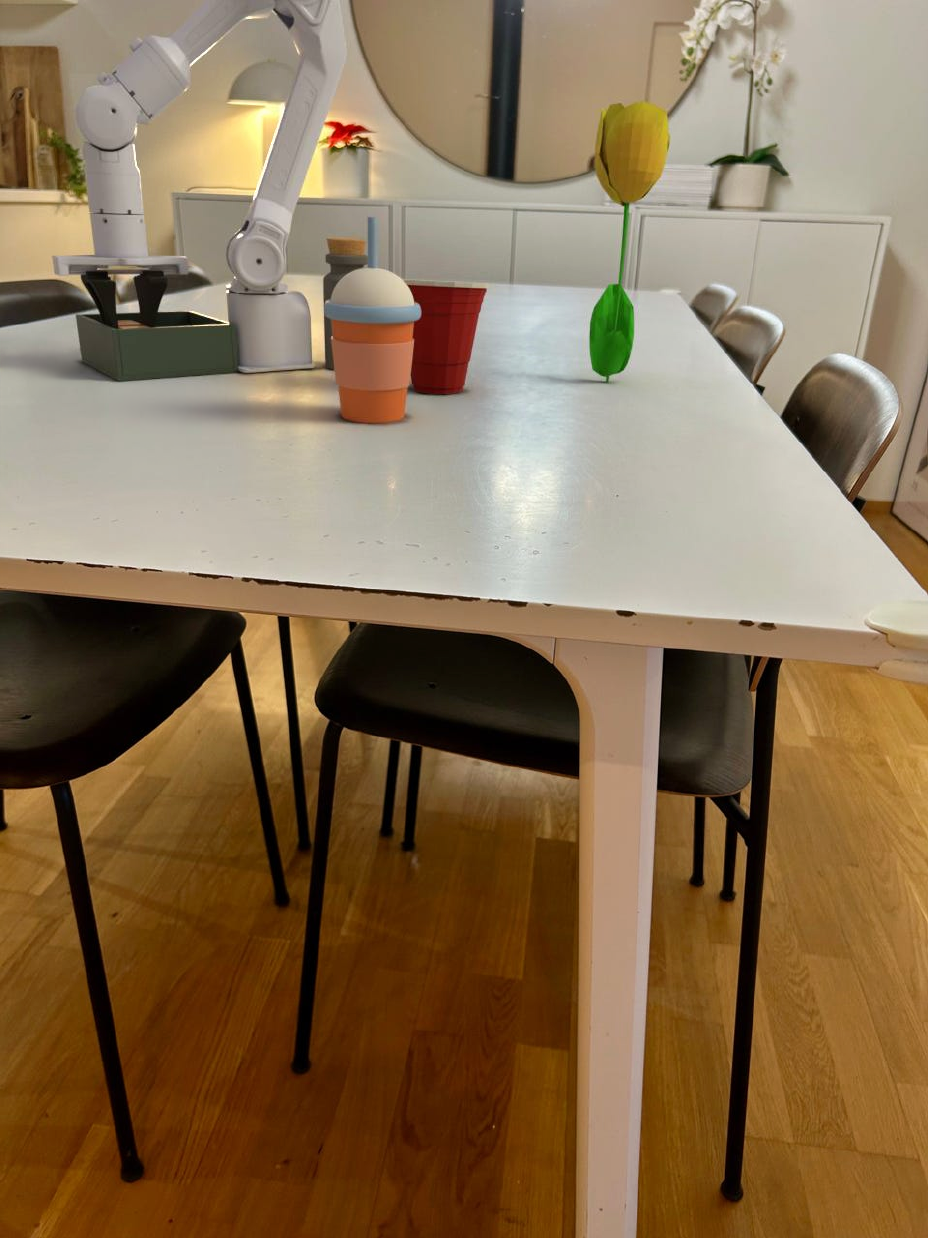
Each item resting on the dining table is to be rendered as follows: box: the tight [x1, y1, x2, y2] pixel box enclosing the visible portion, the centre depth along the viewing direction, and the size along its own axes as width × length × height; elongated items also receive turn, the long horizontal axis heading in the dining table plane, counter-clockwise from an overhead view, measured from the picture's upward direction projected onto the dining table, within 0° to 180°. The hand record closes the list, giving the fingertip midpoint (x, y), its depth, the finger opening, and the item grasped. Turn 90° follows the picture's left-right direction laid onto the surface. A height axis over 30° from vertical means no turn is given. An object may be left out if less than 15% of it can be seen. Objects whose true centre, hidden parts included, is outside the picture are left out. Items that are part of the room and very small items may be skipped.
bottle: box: [322, 237, 368, 370], centre depth 111 cm, size 6×6×15 cm
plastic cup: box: [402, 279, 491, 395], centre depth 100 cm, size 11×11×12 cm
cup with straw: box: [323, 216, 421, 424], centre depth 85 cm, size 9×9×18 cm
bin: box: [75, 310, 240, 382], centre depth 108 cm, size 14×14×6 cm
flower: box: [588, 100, 671, 384], centre depth 105 cm, size 9×8×30 cm
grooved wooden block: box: [118, 320, 149, 329], centre depth 106 cm, size 3×9×3 cm, turn 36°
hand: (131, 340), depth 106 cm, fingers closed on grooved wooden block, 3 cm apart
